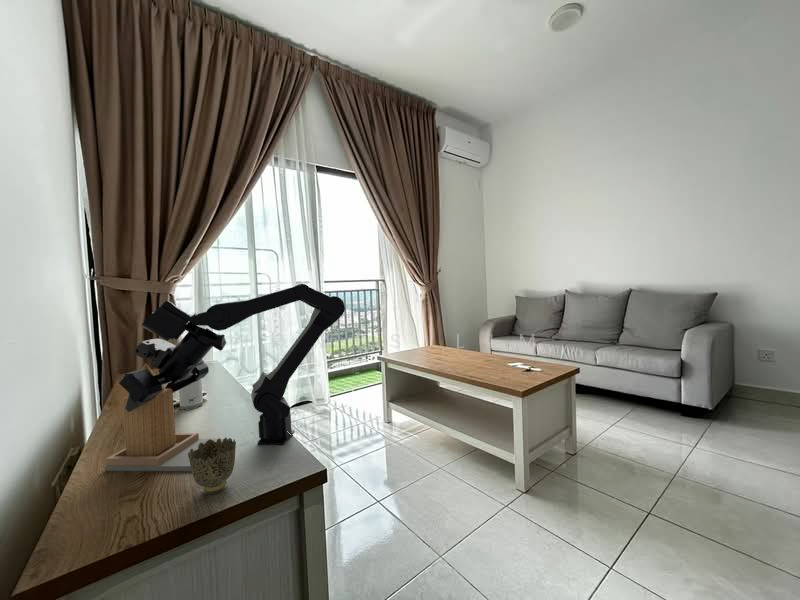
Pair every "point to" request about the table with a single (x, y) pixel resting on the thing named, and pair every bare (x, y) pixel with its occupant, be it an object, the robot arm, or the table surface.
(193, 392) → the travel mug
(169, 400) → the decorative item
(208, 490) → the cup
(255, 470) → the table surface
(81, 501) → the table surface
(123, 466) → the display stand
